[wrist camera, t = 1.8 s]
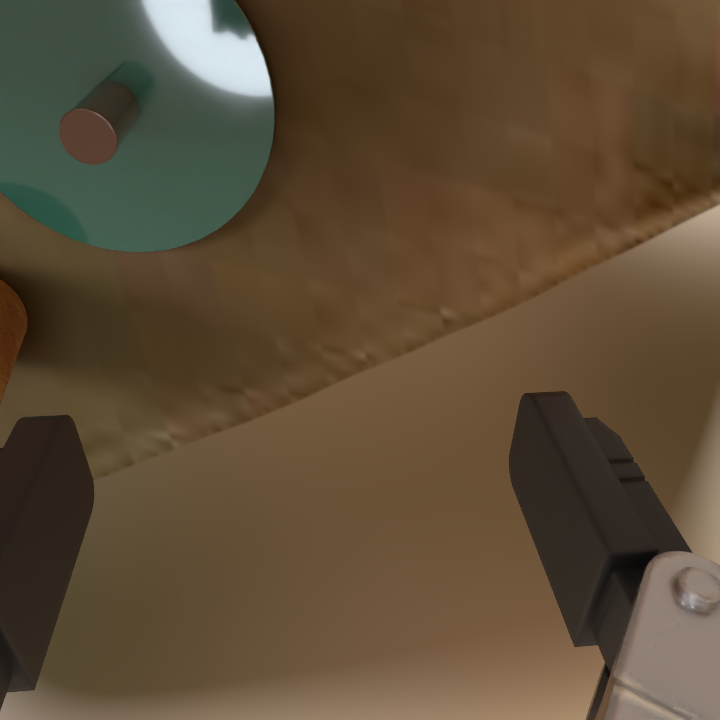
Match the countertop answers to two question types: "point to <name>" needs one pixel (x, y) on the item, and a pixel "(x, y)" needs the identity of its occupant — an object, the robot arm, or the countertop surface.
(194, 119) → the lid
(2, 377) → the disposable coffee cup
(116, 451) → the countertop surface
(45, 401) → the countertop surface
